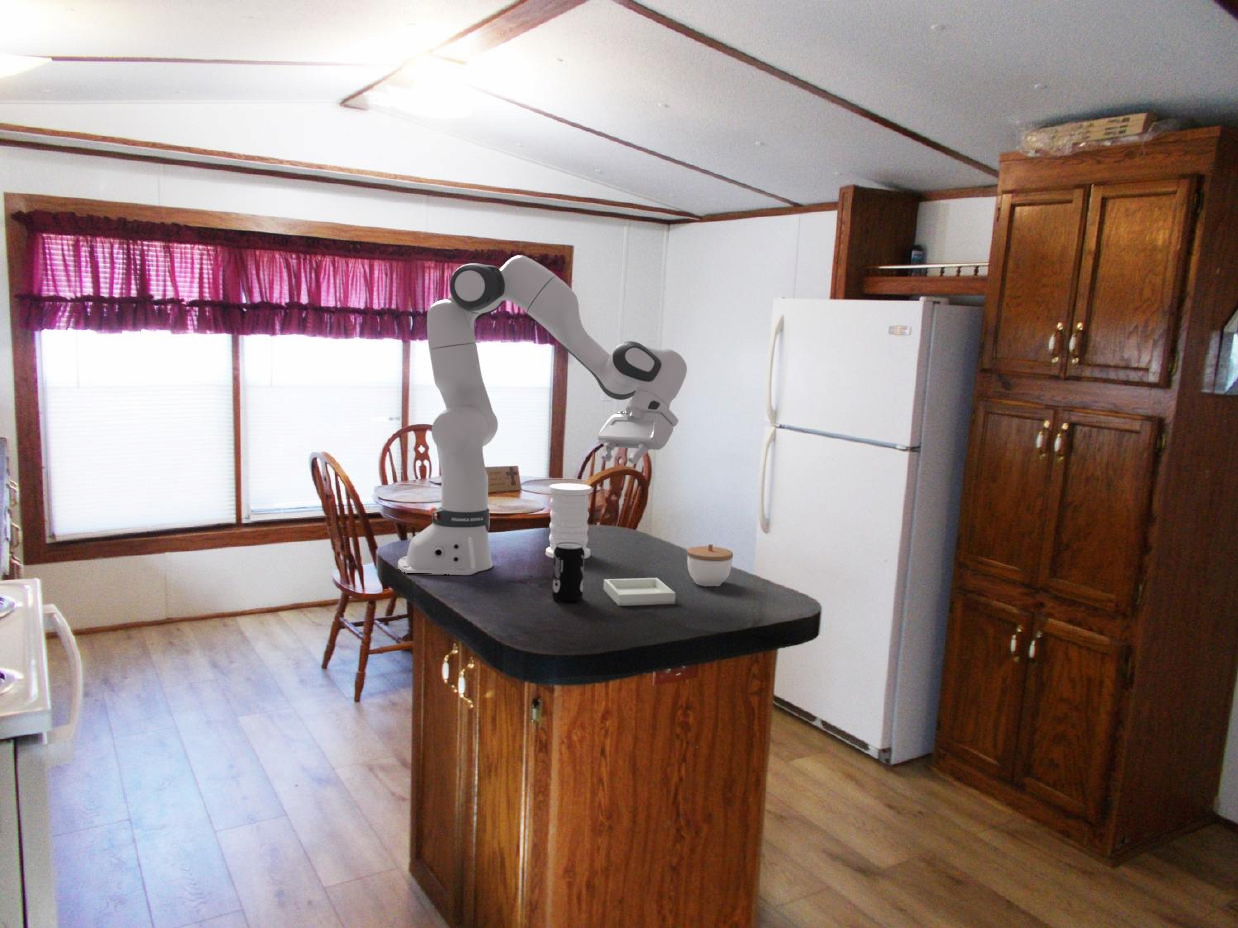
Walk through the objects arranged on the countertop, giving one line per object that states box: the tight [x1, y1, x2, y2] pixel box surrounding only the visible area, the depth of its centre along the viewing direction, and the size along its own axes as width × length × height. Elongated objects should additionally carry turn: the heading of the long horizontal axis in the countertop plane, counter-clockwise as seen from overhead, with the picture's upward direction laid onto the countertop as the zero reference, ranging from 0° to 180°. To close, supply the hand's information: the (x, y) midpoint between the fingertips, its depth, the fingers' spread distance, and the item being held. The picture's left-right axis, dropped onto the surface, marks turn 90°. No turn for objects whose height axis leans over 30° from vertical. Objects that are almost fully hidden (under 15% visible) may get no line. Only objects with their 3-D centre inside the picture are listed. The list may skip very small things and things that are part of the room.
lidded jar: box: [686, 543, 734, 587], centre depth 214 cm, size 11×11×9 cm
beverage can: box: [551, 542, 585, 604], centre depth 196 cm, size 7×7×12 cm
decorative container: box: [545, 482, 592, 560], centre depth 236 cm, size 12×12×18 cm
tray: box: [602, 577, 676, 607], centre depth 201 cm, size 13×13×2 cm
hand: (618, 461), depth 206 cm, fingers open, 8 cm apart
